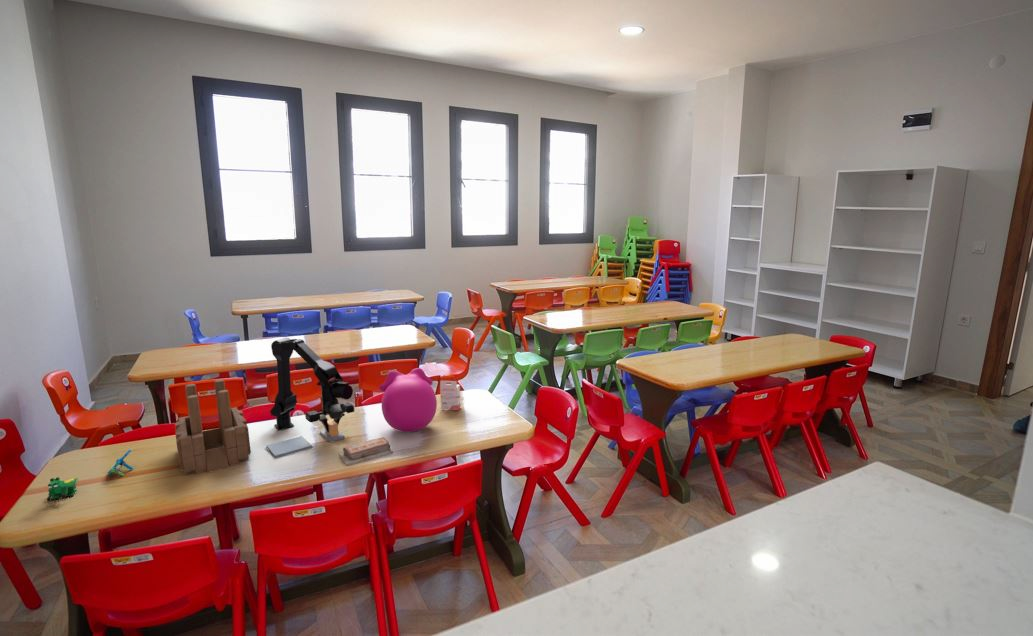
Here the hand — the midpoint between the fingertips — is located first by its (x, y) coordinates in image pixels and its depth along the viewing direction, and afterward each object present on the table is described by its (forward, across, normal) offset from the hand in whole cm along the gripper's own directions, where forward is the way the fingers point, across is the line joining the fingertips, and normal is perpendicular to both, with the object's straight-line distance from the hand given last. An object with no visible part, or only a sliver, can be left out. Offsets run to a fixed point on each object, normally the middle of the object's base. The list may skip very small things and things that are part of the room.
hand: (331, 431), depth 217 cm
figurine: (+2, +28, -15) cm, 32 cm away
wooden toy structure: (+2, -41, +12) cm, 43 cm away
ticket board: (+2, -17, 0) cm, 17 cm away
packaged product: (+3, +4, -26) cm, 26 cm away
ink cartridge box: (+2, +55, -7) cm, 55 cm away
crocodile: (+3, -85, +13) cm, 86 cm away
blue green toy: (+2, -70, +20) cm, 73 cm away
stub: (+2, 0, 0) cm, 2 cm away
